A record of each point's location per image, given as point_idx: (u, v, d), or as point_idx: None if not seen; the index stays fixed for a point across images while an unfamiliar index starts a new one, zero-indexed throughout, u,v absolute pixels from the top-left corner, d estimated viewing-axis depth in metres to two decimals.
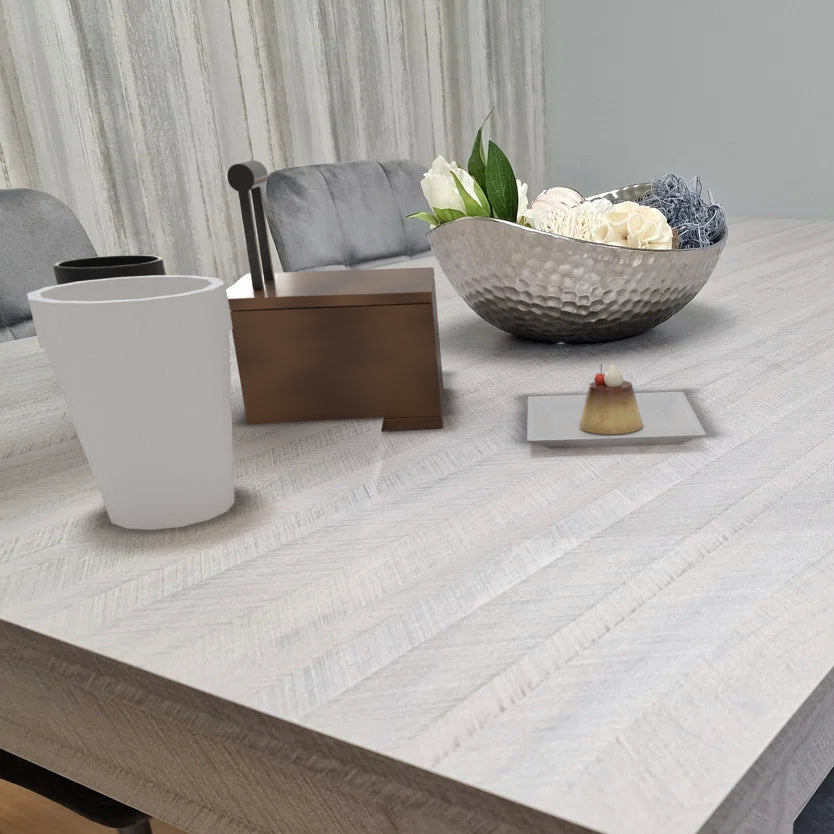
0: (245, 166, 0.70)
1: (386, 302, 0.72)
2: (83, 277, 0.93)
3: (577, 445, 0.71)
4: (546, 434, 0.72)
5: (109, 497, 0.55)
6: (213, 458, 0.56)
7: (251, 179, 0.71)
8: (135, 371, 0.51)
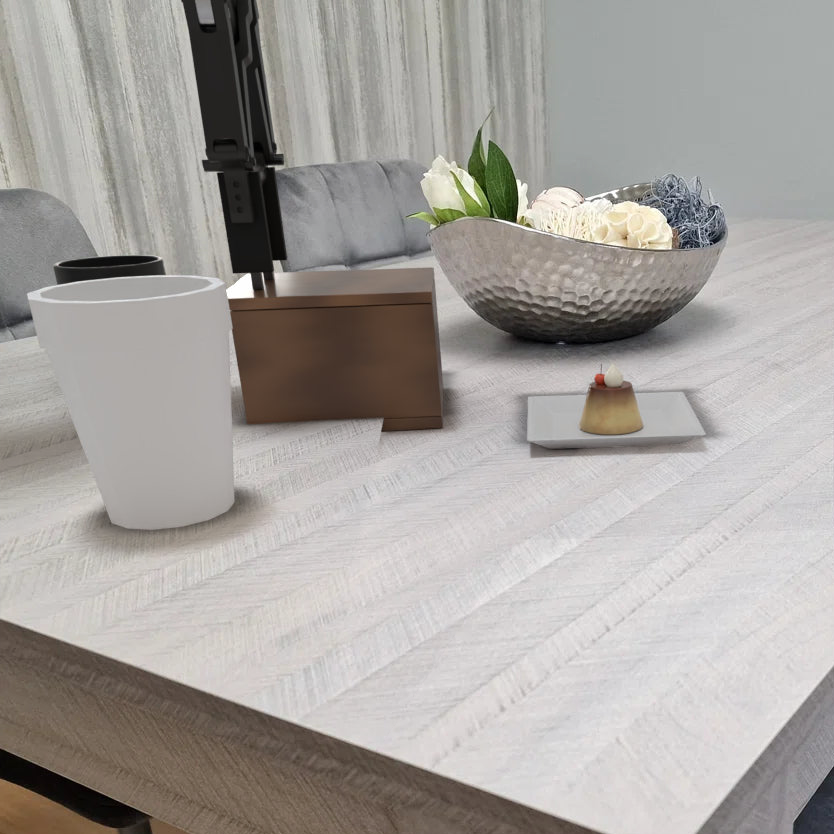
0: None
1: (386, 302, 0.72)
2: (83, 278, 0.93)
3: (577, 445, 0.71)
4: (546, 434, 0.72)
5: (109, 497, 0.55)
6: (213, 458, 0.56)
7: None
8: (135, 371, 0.51)
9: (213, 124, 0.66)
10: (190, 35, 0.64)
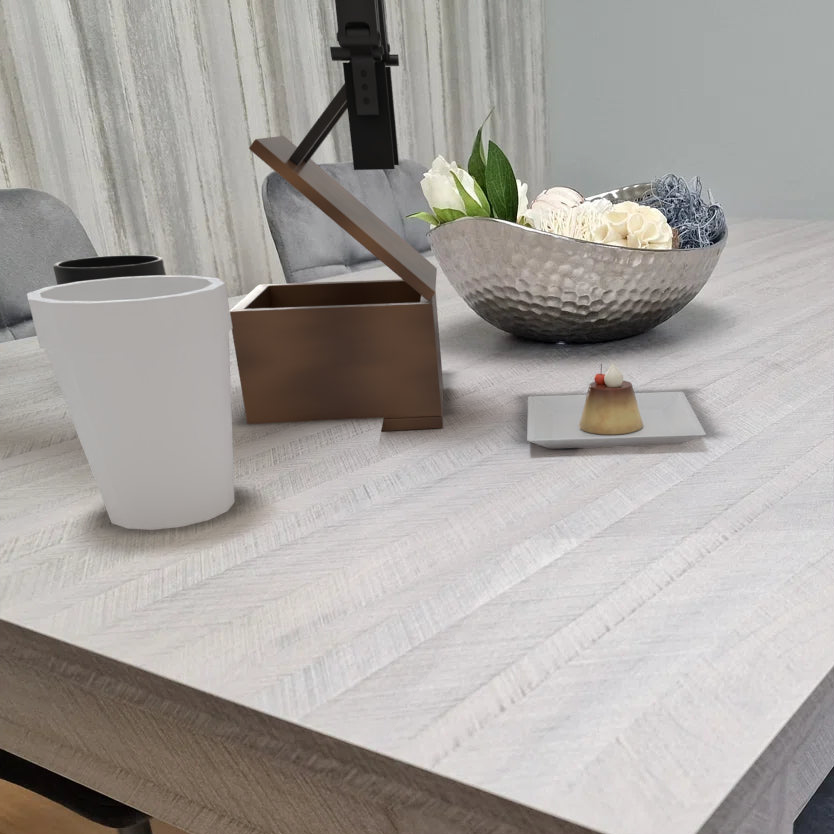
0: None
1: (393, 268, 0.71)
2: (83, 278, 0.93)
3: (577, 445, 0.71)
4: (546, 434, 0.72)
5: (109, 497, 0.55)
6: (213, 458, 0.56)
7: None
8: (135, 371, 0.51)
9: (346, 6, 0.64)
10: None
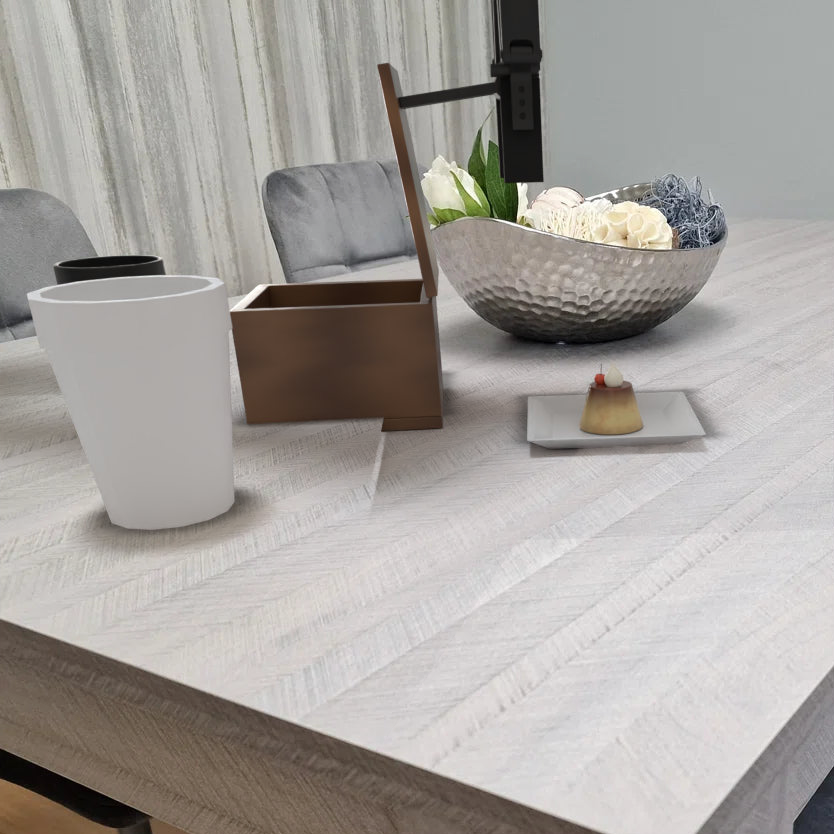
0: None
1: (418, 250, 0.71)
2: (83, 277, 0.93)
3: (577, 445, 0.71)
4: (546, 434, 0.72)
5: (109, 497, 0.55)
6: (213, 458, 0.56)
7: None
8: (135, 371, 0.51)
9: (512, 24, 0.66)
10: None
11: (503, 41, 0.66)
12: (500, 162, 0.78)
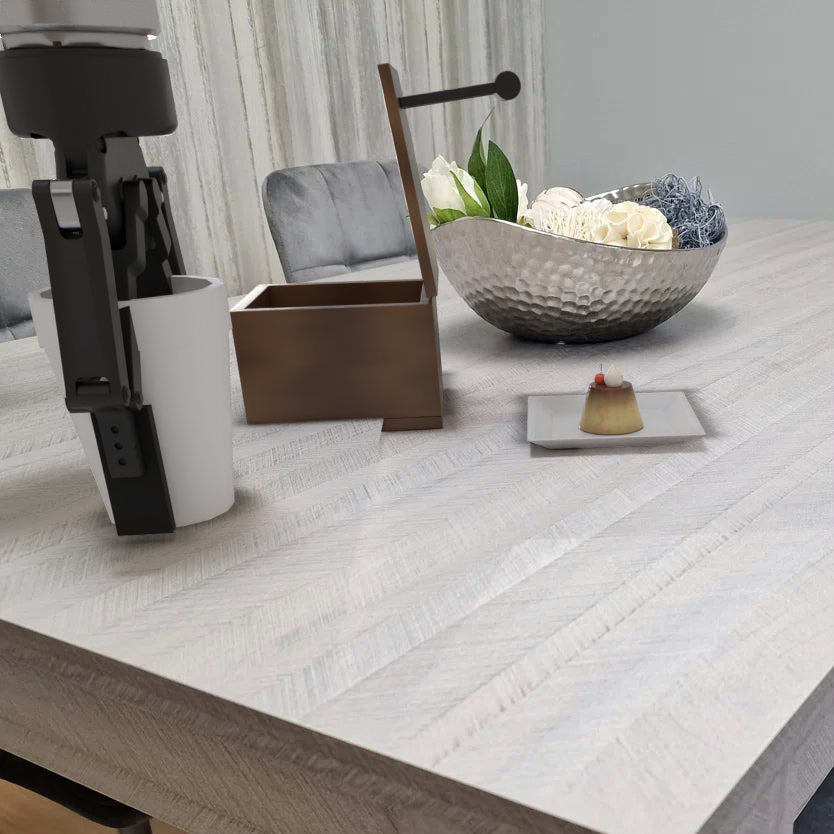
0: (519, 90, 0.71)
1: (418, 250, 0.71)
2: None
3: (577, 445, 0.71)
4: (546, 434, 0.72)
5: None
6: (213, 458, 0.56)
7: (508, 96, 0.71)
8: None
9: (76, 358, 0.47)
10: (46, 243, 0.46)
11: (65, 380, 0.47)
12: None
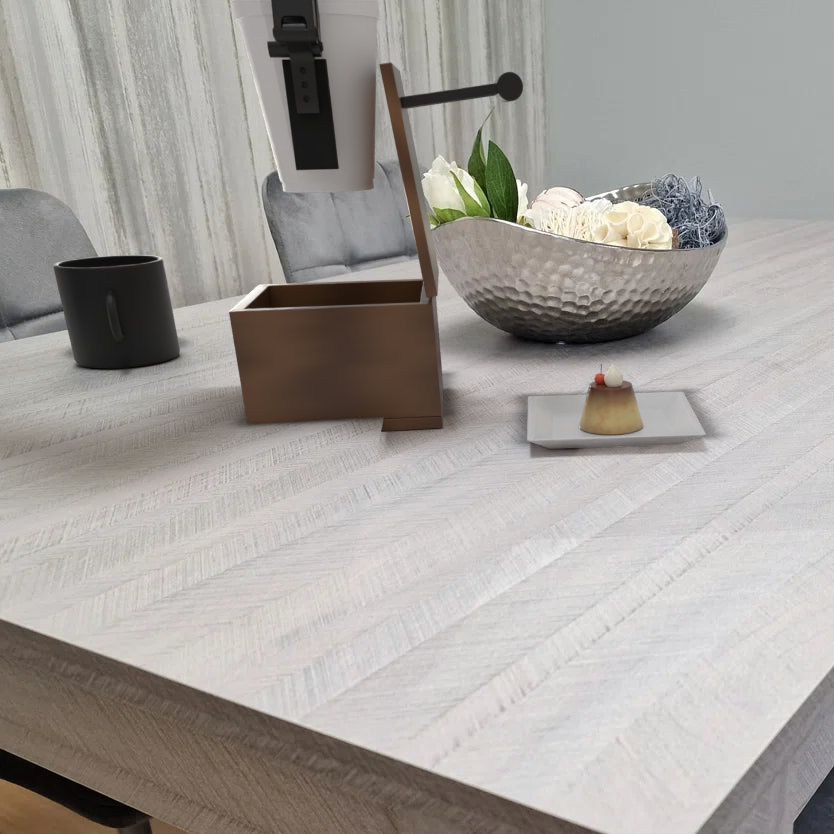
0: (521, 92, 0.71)
1: (419, 250, 0.71)
2: (83, 277, 0.93)
3: (577, 445, 0.71)
4: (546, 434, 0.72)
5: (285, 150, 0.71)
6: (364, 122, 0.71)
7: (510, 97, 0.71)
8: None
9: (282, 0, 0.62)
10: None
11: (274, 17, 0.63)
12: None
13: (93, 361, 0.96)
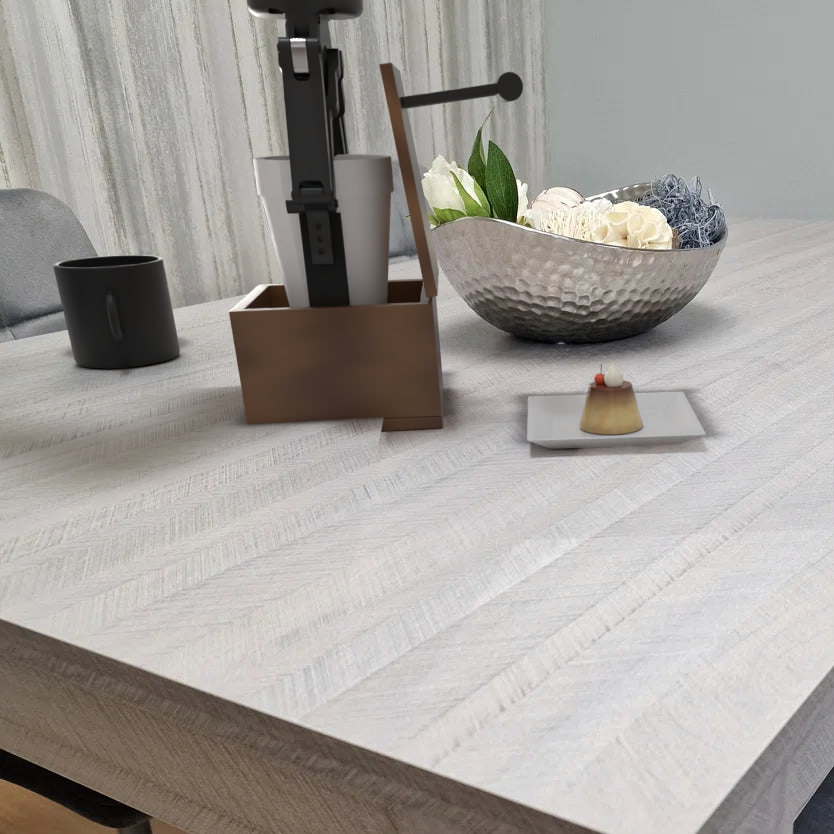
0: (521, 92, 0.71)
1: (419, 250, 0.71)
2: (83, 277, 0.93)
3: (577, 445, 0.71)
4: (546, 434, 0.72)
5: None
6: (377, 287, 0.76)
7: (510, 97, 0.71)
8: None
9: (301, 167, 0.66)
10: (284, 82, 0.65)
11: (292, 182, 0.66)
12: None
13: (93, 361, 0.96)
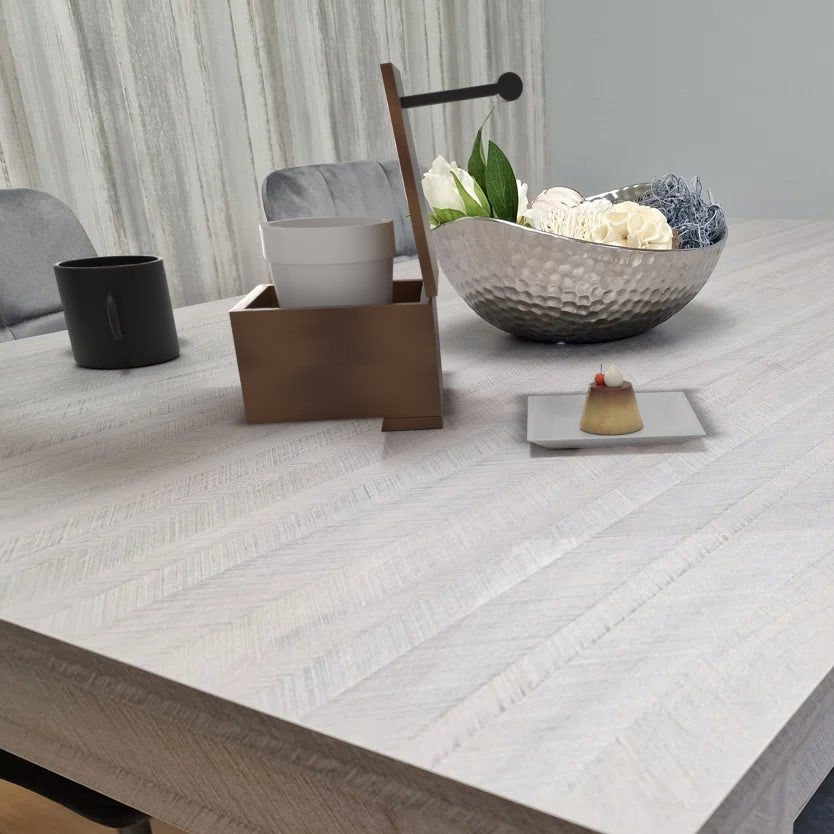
0: (521, 92, 0.71)
1: (419, 250, 0.71)
2: (83, 278, 0.93)
3: (577, 445, 0.71)
4: (546, 434, 0.72)
5: None
6: None
7: (510, 97, 0.71)
8: (333, 278, 0.73)
9: None
10: None
11: None
12: None
13: (93, 361, 0.96)
